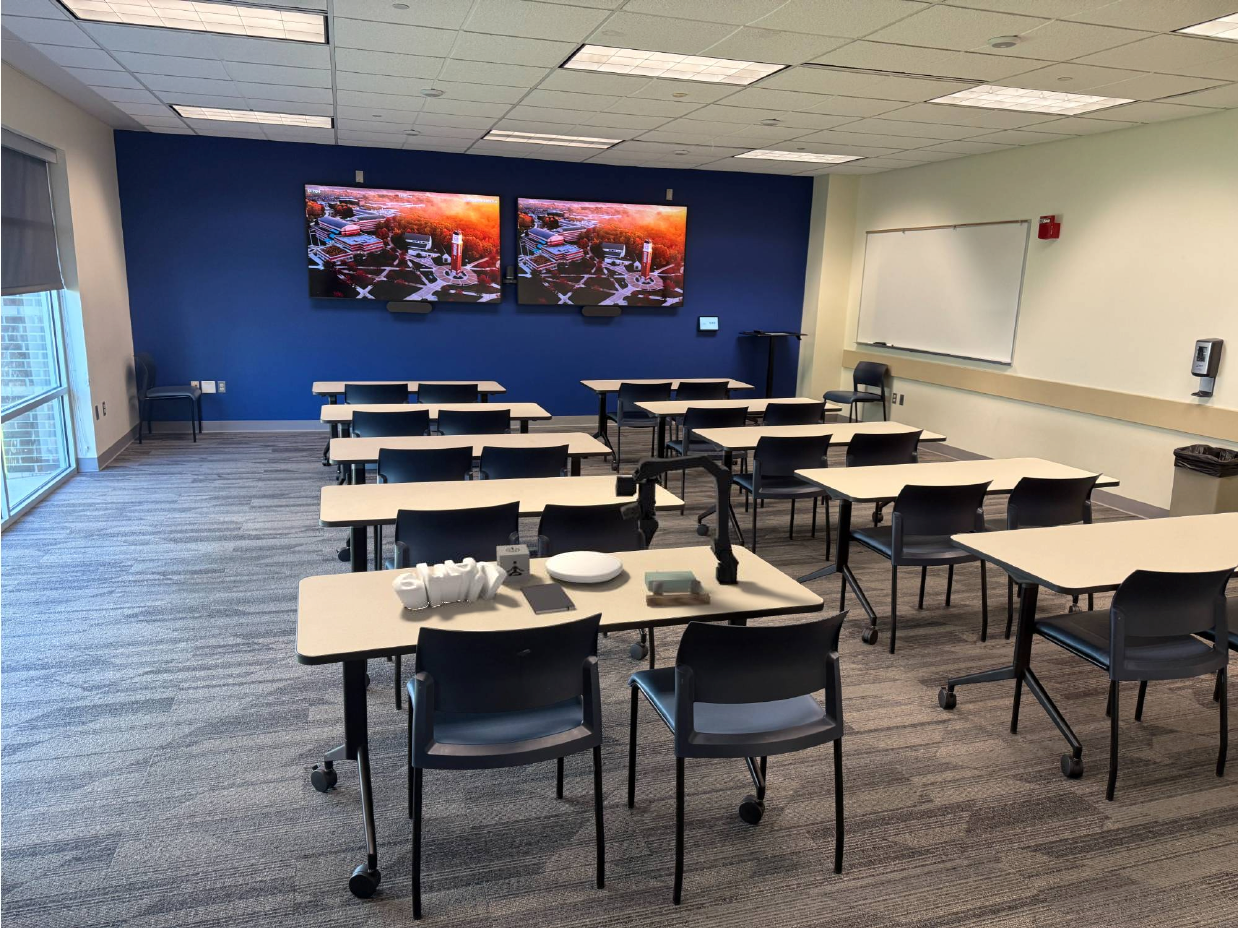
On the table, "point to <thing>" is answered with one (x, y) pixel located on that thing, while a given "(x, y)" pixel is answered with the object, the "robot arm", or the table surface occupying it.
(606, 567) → the plate
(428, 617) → the table surface
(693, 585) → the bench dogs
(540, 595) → the notebook
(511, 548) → the icon cube
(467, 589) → the white wavy slab sculpture
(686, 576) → the painted plate block
